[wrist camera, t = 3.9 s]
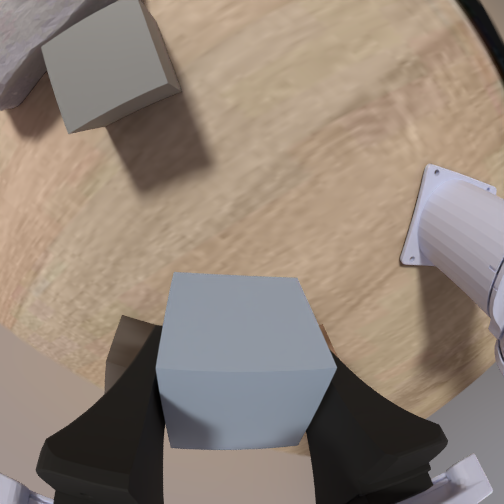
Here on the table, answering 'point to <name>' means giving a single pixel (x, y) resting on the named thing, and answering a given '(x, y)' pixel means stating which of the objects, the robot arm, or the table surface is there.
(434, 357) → the table surface
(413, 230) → the robot arm
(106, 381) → the ebony cube
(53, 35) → the stone block
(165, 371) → the slate blue cube
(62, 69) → the grey cube
